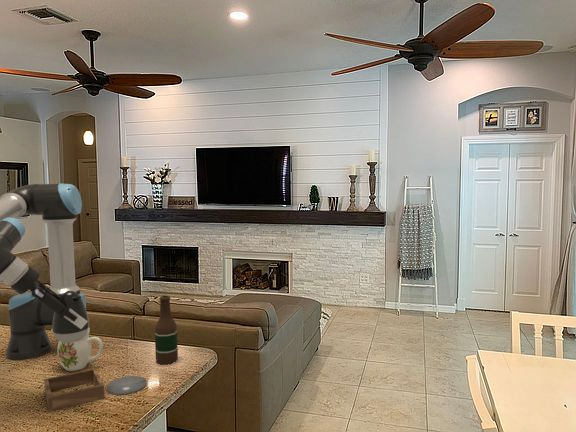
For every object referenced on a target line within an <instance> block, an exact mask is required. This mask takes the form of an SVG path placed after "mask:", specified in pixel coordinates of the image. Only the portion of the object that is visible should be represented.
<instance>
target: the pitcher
mask: <svg viewBox="0 0 576 432" xmlns="http://www.w3.org/2000/svg"><path fill="white" fill-rule="evenodd" d="M50 330H51V332H52V328H51V329H50ZM90 332H91V328H90V326H89V327H88V331H87V333H86V335H85V336H84V337H83V338H82V339H80V340H79V341H76V342H71V343H64V342H61V341H59V340H58V342H57V352H56V353H57V356H58V361H59V363H60V365H61V367H62V368H63V369H65V371H67V372H78V371H82V370H83V369H85V368H86V367H87V365H88V364H89V363H90V362H93V361H96V360H97V359H99V357H100V356H101V355H102V353H103V351H104V344H103V342H102V339H101V338H99V337H98V336H91V337H90ZM92 341H94V342H95V341H96V342H97V345H98V352H97V354H95V355H94V356H92V347H93V345H92Z"/></svg>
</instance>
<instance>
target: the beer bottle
mask: <svg viewBox="0 0 576 432" xmlns="http://www.w3.org/2000/svg"><path fill="white" fill-rule="evenodd" d="M158 300H159V302H160V303H159V305H160V306H159V307H160V308H159V319H158V320H157V322H156V323H155V327H154V342H155V344H154V346H155V348H154V349H155V351H154V352H155V362H156V364H159V366H169V365H172V363H173V364H175V363H176V362H177V361H176V360H178V357H179V356H178V355H179V352H178V327H177V324H176V320H174V318H173V317H172V312H171V311H172V310H171V301H170V300H171V297H170V296H169V295H161V296H160V297H159V299H158ZM174 362H175V363H174ZM168 364H169V365H168Z"/></svg>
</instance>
